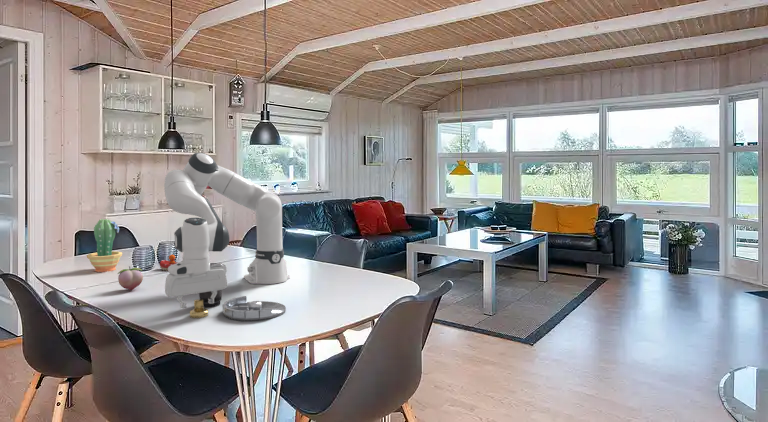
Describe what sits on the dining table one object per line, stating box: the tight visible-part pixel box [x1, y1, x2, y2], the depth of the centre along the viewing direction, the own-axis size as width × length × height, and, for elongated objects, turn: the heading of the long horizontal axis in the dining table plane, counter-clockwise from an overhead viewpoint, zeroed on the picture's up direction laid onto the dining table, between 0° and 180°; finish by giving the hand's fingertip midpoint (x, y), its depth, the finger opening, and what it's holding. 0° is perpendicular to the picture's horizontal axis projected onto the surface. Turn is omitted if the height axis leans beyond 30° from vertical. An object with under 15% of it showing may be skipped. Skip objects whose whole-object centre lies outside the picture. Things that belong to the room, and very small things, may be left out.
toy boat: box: [159, 254, 179, 272], centre depth 252 cm, size 8×12×8 cm, turn 83°
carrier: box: [221, 295, 287, 322], centre depth 180 cm, size 22×22×3 cm
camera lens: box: [198, 262, 223, 308], centre depth 189 cm, size 8×8×15 cm
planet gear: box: [189, 298, 209, 319], centre depth 175 cm, size 6×6×6 cm
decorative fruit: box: [117, 266, 144, 291], centre depth 210 cm, size 9×8×10 cm
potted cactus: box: [86, 218, 123, 273], centre depth 249 cm, size 15×16×25 cm
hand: (197, 305), depth 175 cm, fingers open, 8 cm apart
